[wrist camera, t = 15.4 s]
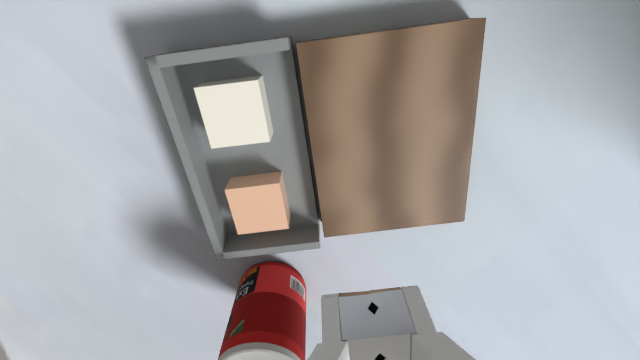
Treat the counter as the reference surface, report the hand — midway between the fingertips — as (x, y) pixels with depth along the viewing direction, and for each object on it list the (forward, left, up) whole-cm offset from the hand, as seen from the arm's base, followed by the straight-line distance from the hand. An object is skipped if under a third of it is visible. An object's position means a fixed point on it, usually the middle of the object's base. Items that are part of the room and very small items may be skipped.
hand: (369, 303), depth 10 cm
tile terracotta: (+8, +7, -20) cm, 22 cm away
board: (-5, +2, -21) cm, 21 cm away
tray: (+8, +2, -21) cm, 22 cm away
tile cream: (+8, -2, -20) cm, 22 cm away
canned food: (+9, +19, -21) cm, 30 cm away
